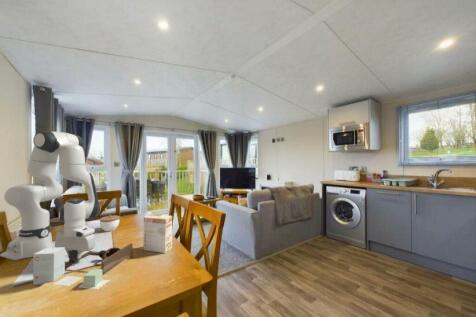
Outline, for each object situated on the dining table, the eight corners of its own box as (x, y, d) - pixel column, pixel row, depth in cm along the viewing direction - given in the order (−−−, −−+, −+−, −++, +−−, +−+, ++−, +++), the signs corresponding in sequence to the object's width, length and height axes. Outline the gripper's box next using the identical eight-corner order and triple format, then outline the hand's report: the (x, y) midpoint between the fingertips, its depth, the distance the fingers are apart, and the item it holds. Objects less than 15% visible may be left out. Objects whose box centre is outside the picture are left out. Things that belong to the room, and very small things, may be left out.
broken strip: (52, 287, 81) (52, 284, 81) (66, 278, 87) (66, 275, 87) (97, 292, 79) (97, 289, 79) (109, 282, 84) (109, 280, 84)
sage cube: (83, 286, 80) (83, 275, 80) (91, 280, 84) (91, 269, 84) (95, 286, 80) (95, 275, 80) (102, 280, 85) (102, 269, 85)
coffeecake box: (172, 248, 118) (172, 215, 118) (165, 253, 111) (165, 218, 112) (151, 245, 122) (151, 213, 122) (142, 250, 115) (143, 216, 116)
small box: (65, 275, 90) (65, 246, 90) (53, 284, 83) (53, 253, 83) (45, 276, 89) (46, 247, 89) (32, 285, 83) (32, 254, 83)
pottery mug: (126, 257, 108) (126, 247, 104) (115, 274, 99) (116, 263, 96) (103, 252, 107) (103, 242, 103) (91, 268, 98) (90, 258, 95)
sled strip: (51, 272, 92) (51, 257, 92) (88, 253, 111) (88, 240, 112) (103, 277, 89) (103, 261, 89) (132, 256, 108) (132, 243, 108)
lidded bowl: (122, 228, 151) (123, 214, 151) (104, 234, 140) (104, 218, 140) (114, 226, 157) (114, 212, 158) (96, 230, 147) (96, 215, 147)
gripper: (51, 231, 100) (50, 259, 100) (86, 234, 97) (86, 262, 97) (63, 227, 106) (63, 253, 106) (97, 229, 104) (97, 256, 103)
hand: (74, 257), depth 102 cm, fingers closed on sled strip, 3 cm apart
